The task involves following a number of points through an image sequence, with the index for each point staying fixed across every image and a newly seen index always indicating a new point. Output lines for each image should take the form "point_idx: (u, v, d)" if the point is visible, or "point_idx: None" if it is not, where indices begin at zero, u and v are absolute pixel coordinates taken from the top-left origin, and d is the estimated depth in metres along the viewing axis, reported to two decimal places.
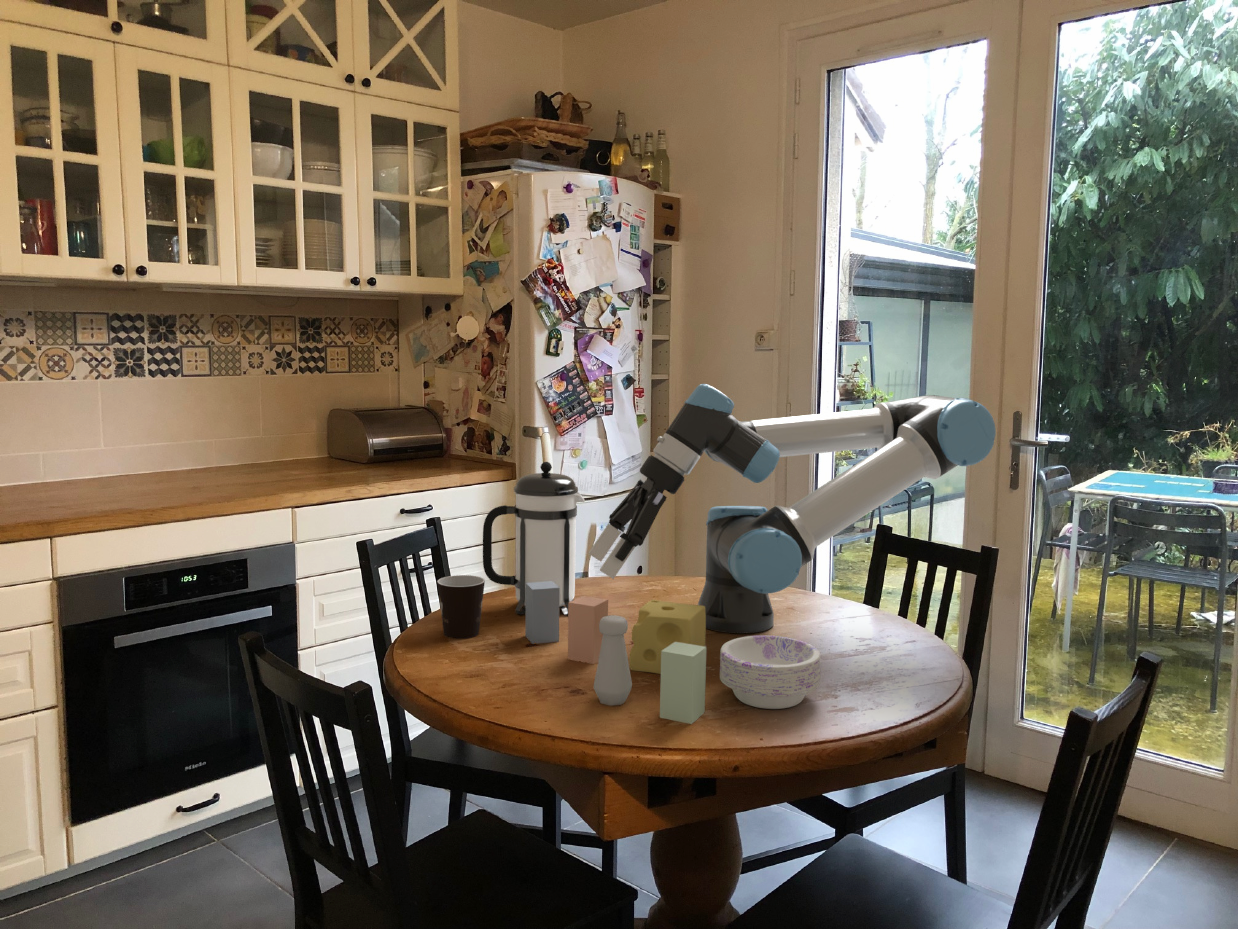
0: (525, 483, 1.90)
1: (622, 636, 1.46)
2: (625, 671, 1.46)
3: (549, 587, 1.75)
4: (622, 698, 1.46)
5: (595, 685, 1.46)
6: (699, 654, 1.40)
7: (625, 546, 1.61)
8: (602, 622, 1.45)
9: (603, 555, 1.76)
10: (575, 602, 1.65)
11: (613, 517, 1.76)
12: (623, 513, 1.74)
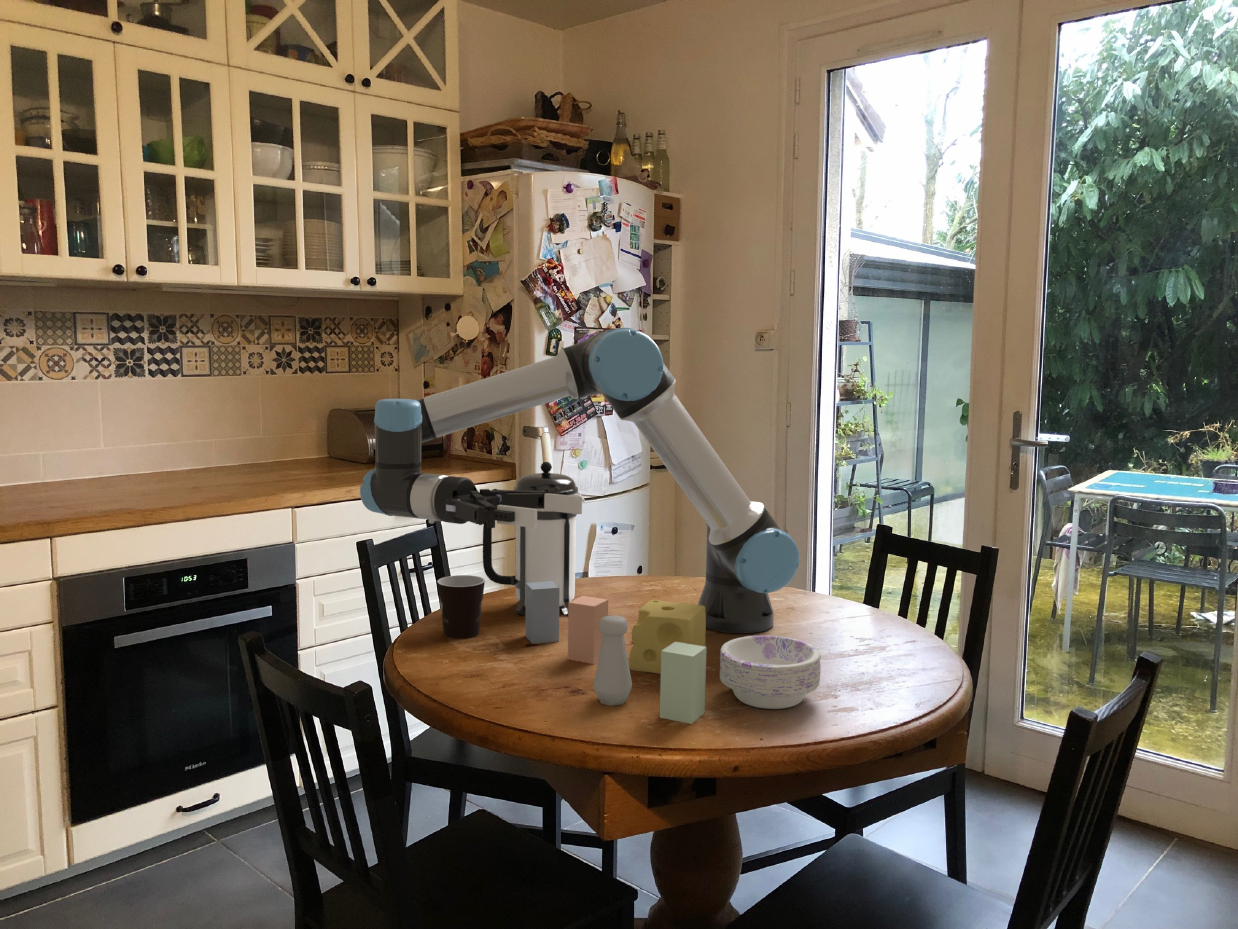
0: (525, 483, 1.90)
1: (622, 636, 1.46)
2: (625, 671, 1.46)
3: (549, 587, 1.75)
4: (622, 698, 1.46)
5: (595, 685, 1.46)
6: (699, 654, 1.40)
7: (496, 518, 1.44)
8: (602, 622, 1.45)
9: (573, 498, 1.54)
10: (575, 602, 1.65)
11: None
12: (522, 505, 1.57)
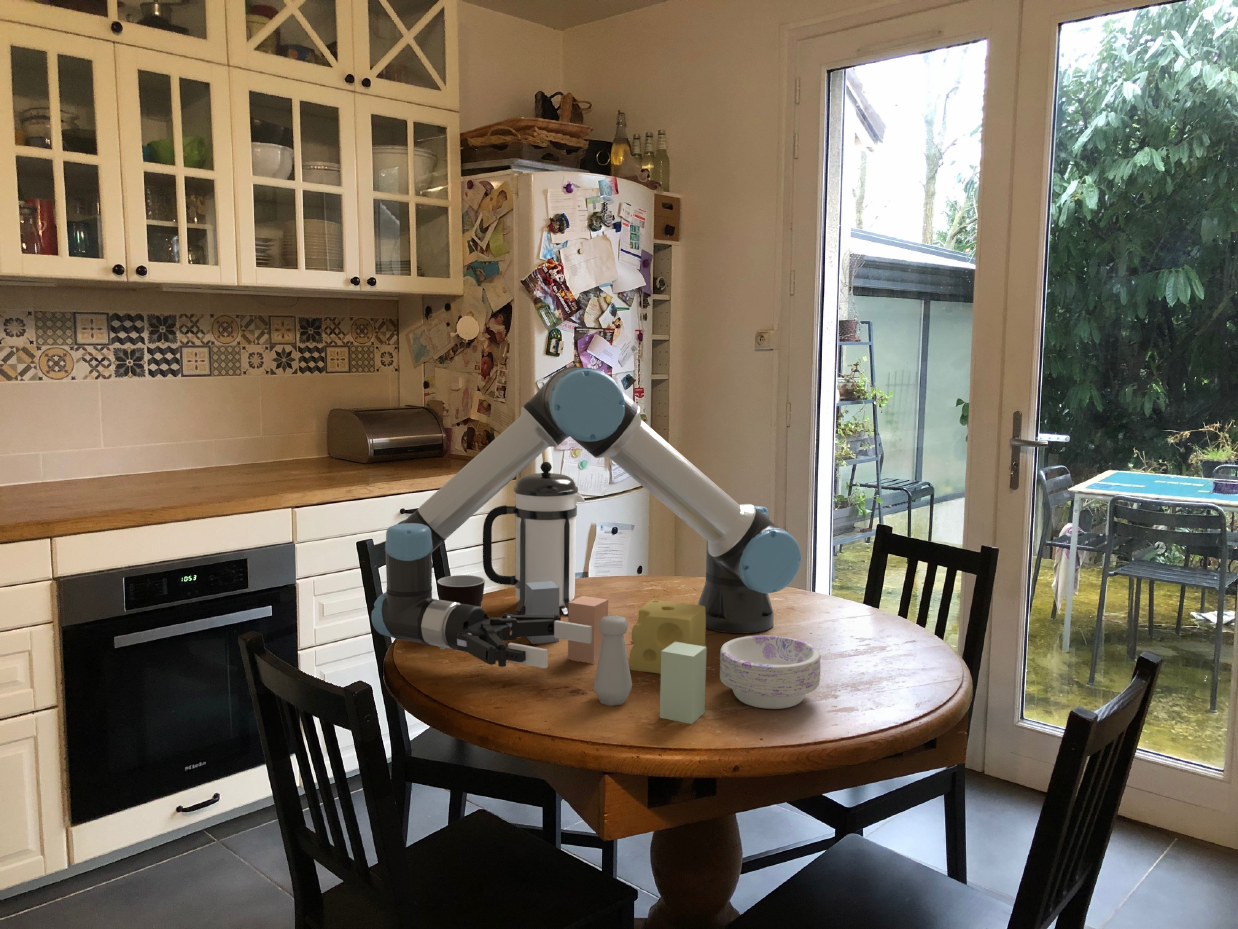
0: (525, 483, 1.90)
1: (622, 636, 1.46)
2: (625, 671, 1.46)
3: (549, 587, 1.75)
4: (622, 698, 1.46)
5: (595, 685, 1.46)
6: (699, 654, 1.40)
7: (507, 658, 1.45)
8: (602, 622, 1.45)
9: (582, 628, 1.56)
10: (575, 602, 1.65)
11: None
12: (532, 633, 1.58)
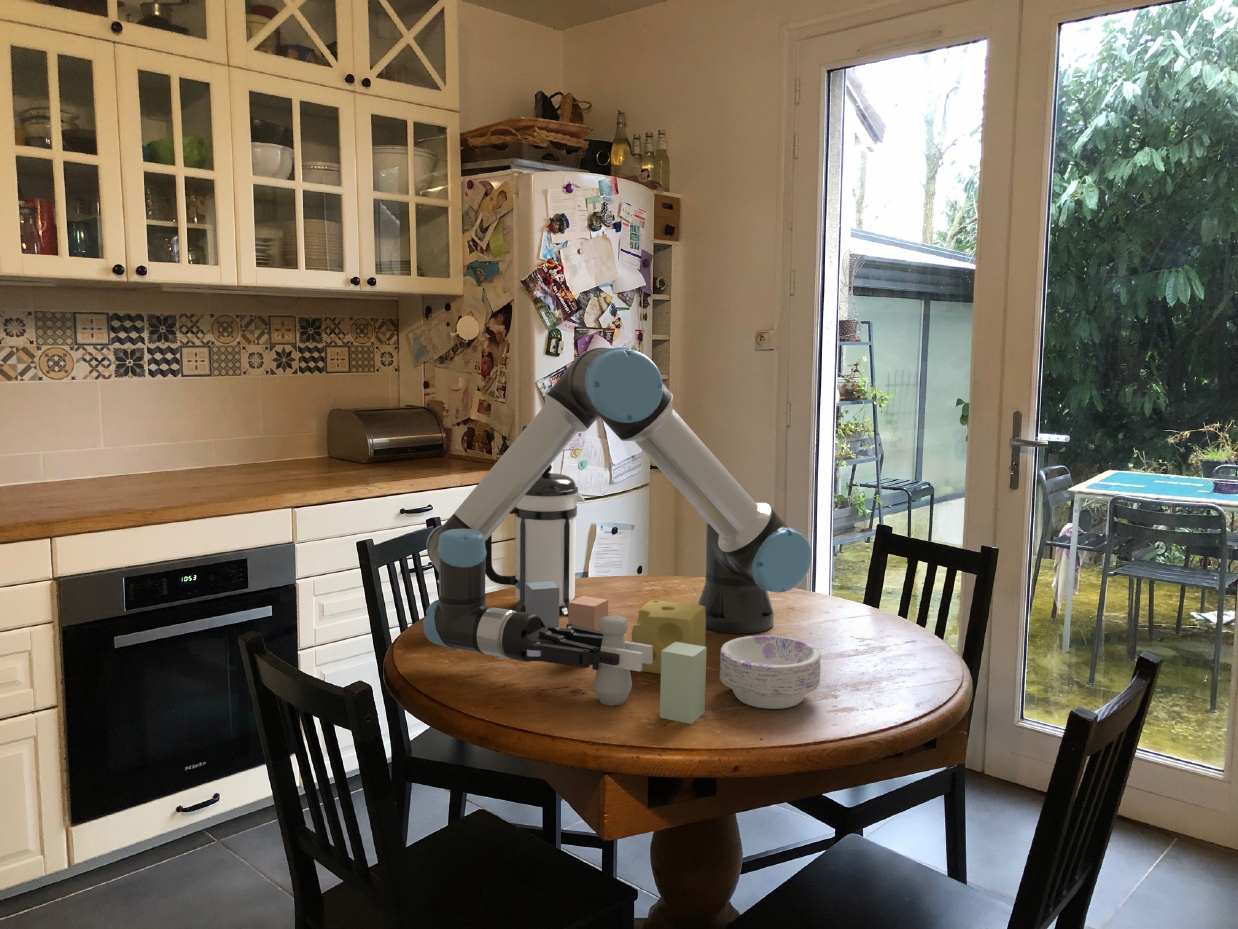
0: None
1: (622, 636, 1.46)
2: (625, 671, 1.46)
3: (549, 587, 1.75)
4: (622, 698, 1.46)
5: (595, 685, 1.46)
6: (700, 654, 1.40)
7: (601, 661, 1.44)
8: (602, 622, 1.45)
9: (643, 647, 1.46)
10: (575, 602, 1.65)
11: None
12: None
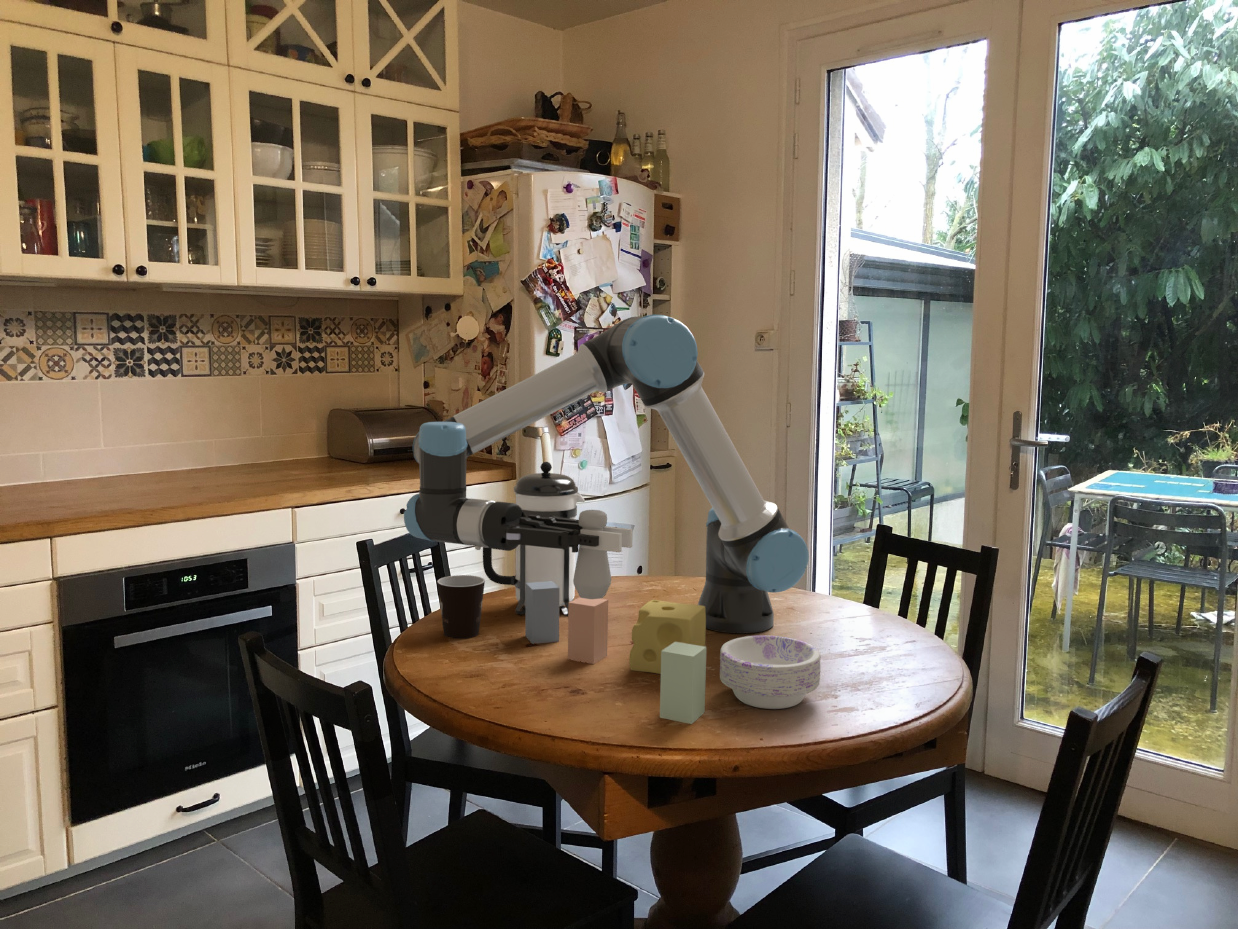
0: (525, 483, 1.90)
1: (602, 529, 1.45)
2: (605, 564, 1.45)
3: (549, 587, 1.75)
4: (602, 591, 1.45)
5: (575, 579, 1.45)
6: (699, 654, 1.40)
7: (580, 543, 1.43)
8: (582, 515, 1.44)
9: (623, 531, 1.45)
10: (575, 602, 1.65)
11: None
12: None
